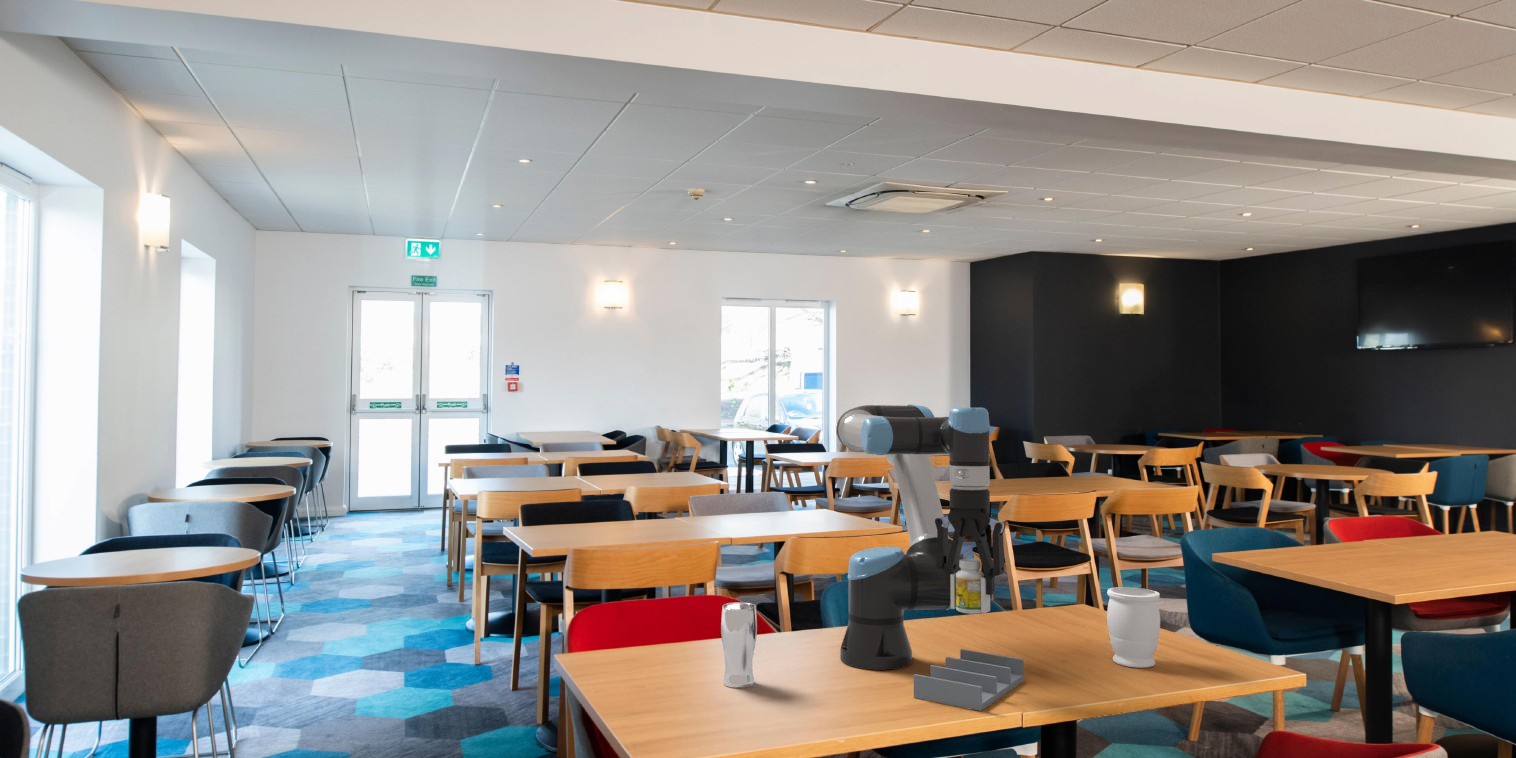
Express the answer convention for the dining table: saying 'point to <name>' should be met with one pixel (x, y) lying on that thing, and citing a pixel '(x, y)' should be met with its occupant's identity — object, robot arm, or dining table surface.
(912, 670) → the dining table surface
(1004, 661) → the rack
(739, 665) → the beer glass
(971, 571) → the supplement bottle
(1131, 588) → the jar
